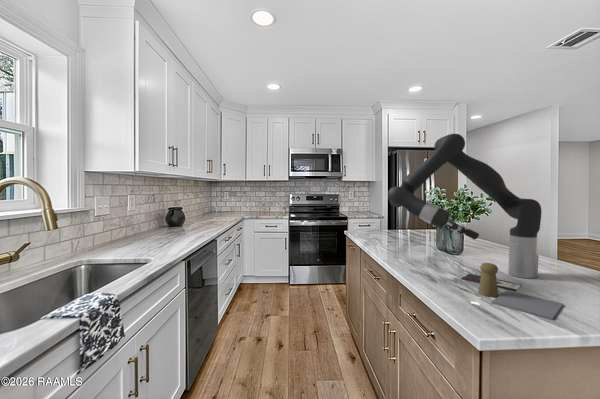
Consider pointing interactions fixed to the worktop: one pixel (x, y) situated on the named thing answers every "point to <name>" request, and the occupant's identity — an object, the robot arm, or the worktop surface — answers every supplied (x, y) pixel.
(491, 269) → the cork
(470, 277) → the chocolate bar
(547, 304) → the mat
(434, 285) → the worktop surface
